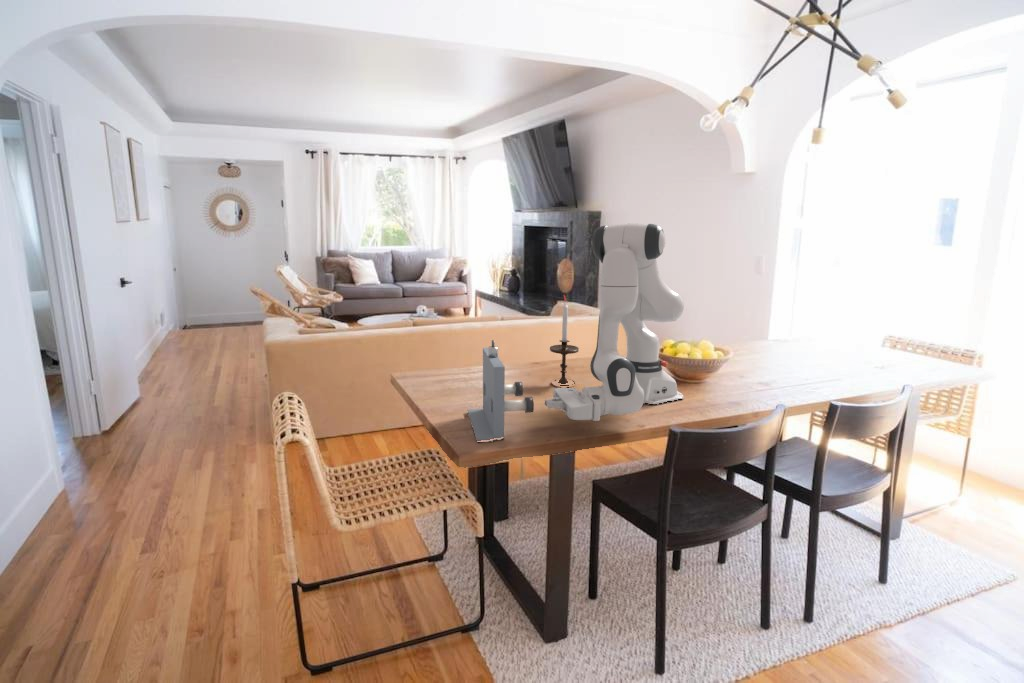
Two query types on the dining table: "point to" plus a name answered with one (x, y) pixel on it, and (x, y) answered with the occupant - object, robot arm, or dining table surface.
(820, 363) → the dining table surface
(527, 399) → the knob
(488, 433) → the mount
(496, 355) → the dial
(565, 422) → the dining table surface
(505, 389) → the knob
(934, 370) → the dining table surface
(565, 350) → the candlestick
